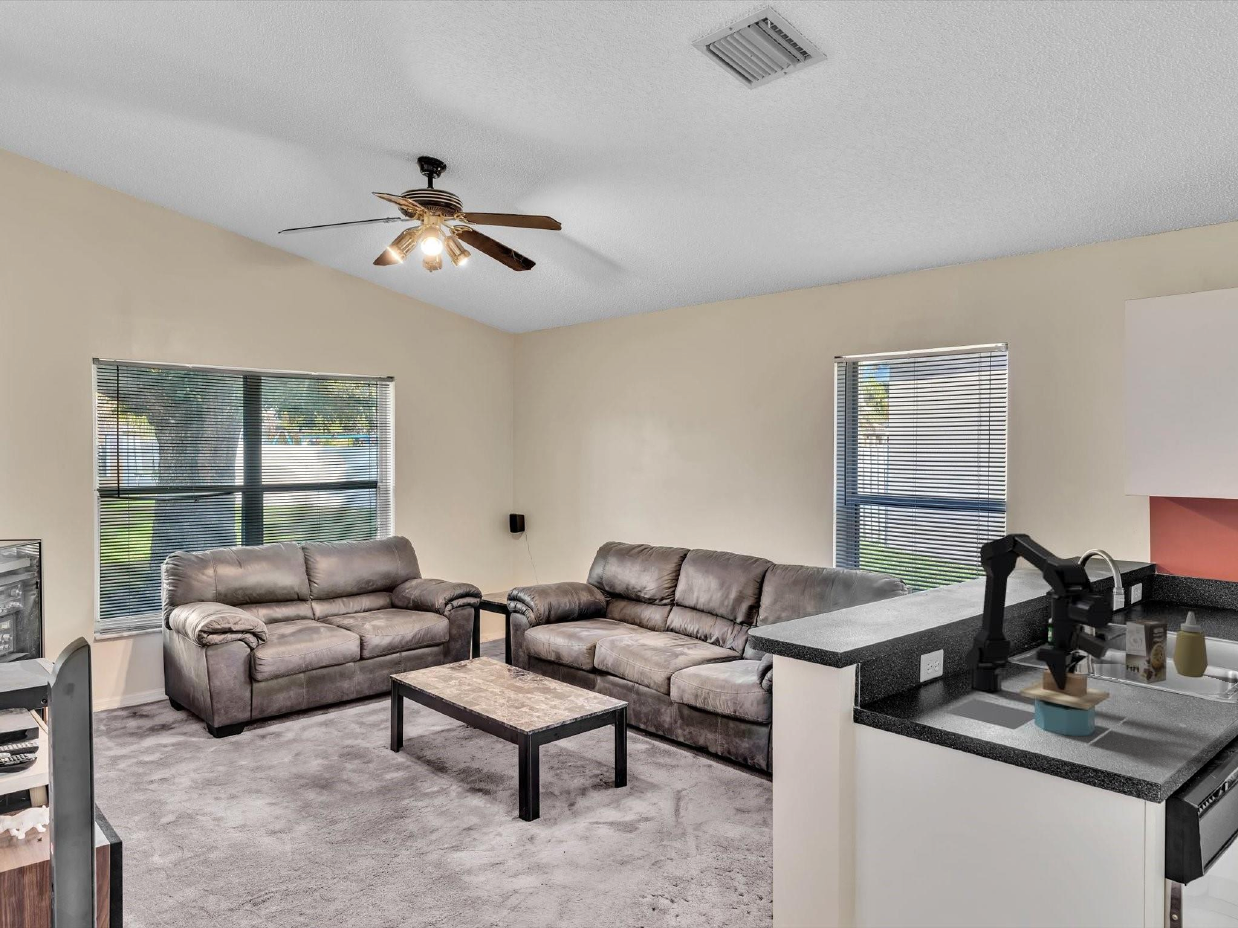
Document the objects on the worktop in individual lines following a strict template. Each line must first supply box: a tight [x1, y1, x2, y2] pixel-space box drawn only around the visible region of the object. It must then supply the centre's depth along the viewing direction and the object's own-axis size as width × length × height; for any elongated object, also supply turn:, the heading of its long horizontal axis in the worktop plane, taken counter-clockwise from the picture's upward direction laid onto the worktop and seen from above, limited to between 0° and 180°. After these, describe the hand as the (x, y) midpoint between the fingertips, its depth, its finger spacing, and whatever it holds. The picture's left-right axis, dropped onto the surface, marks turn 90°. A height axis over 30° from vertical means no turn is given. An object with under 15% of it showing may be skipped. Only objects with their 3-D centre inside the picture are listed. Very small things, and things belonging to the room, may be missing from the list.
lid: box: [1019, 668, 1110, 710], centre depth 183 cm, size 14×14×5 cm
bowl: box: [1034, 698, 1096, 737], centre depth 183 cm, size 11×11×6 cm
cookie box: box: [1124, 619, 1168, 685], centre depth 225 cm, size 9×6×16 cm
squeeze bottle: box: [1172, 611, 1209, 679], centre depth 230 cm, size 8×8×18 cm
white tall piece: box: [1075, 625, 1096, 676], centre depth 232 cm, size 7×7×15 cm
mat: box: [945, 698, 1035, 730], centre depth 192 cm, size 16×16×1 cm
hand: (1064, 688), depth 183 cm, fingers closed on lid, 3 cm apart
